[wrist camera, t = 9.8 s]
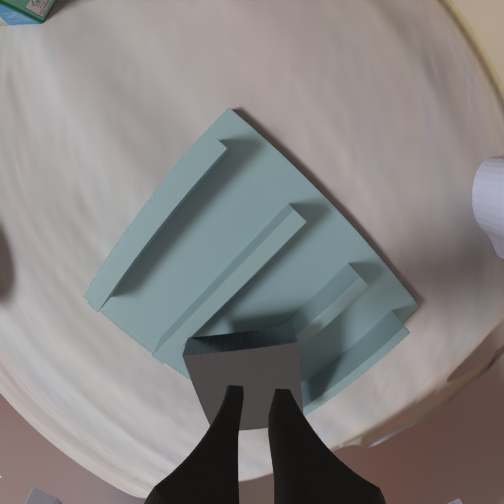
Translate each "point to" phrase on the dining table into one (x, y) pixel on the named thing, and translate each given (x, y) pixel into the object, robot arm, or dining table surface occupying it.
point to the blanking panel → (245, 370)
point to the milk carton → (24, 11)
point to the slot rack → (251, 265)
